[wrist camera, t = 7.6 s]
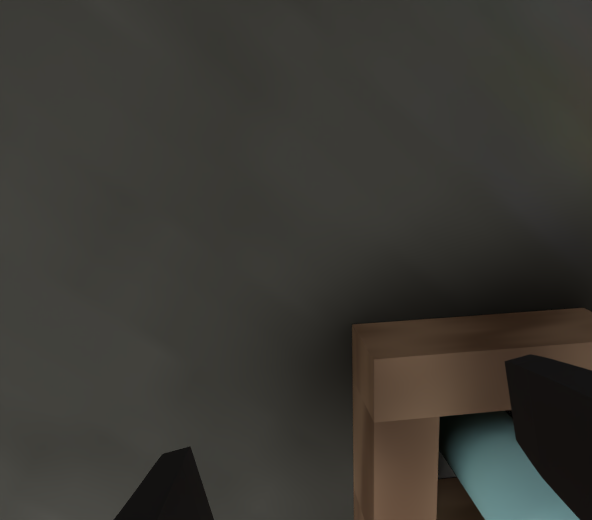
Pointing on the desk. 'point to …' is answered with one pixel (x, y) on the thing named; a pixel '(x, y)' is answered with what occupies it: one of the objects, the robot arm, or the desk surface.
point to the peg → (497, 469)
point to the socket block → (439, 399)
